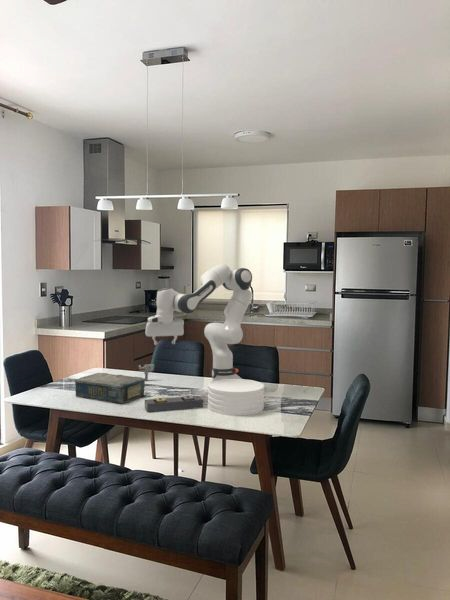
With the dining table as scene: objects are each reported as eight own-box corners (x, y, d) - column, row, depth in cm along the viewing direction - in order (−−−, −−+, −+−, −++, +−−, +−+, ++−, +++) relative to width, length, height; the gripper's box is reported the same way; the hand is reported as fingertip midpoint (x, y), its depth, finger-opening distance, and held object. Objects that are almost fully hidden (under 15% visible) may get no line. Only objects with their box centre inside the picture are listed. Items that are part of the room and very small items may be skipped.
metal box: (121, 405, 247) (121, 385, 246) (73, 397, 261) (73, 378, 261) (146, 395, 266) (146, 377, 265) (100, 388, 280) (100, 371, 280)
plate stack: (231, 397, 265) (231, 376, 264) (274, 406, 247) (274, 384, 246) (196, 408, 243) (196, 385, 242) (240, 419, 225) (241, 395, 225)
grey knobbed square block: (190, 405, 248) (190, 395, 247) (192, 407, 244) (193, 397, 243) (182, 405, 246) (182, 395, 246) (184, 408, 242) (184, 397, 242)
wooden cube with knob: (163, 407, 243) (163, 397, 243) (165, 409, 239) (165, 399, 239) (154, 408, 242) (154, 397, 241) (156, 410, 238) (156, 400, 237)
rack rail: (198, 403, 251) (198, 395, 251) (203, 407, 243) (203, 399, 243) (144, 407, 242) (144, 399, 242) (147, 412, 234) (147, 403, 234)
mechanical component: (137, 380, 300) (137, 364, 299) (154, 379, 303) (154, 363, 303) (138, 381, 297) (138, 365, 297) (155, 380, 300) (155, 364, 300)
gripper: (182, 317, 263) (182, 342, 264) (144, 318, 256) (144, 344, 257) (185, 318, 257) (185, 344, 258) (146, 319, 250) (146, 346, 251)
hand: (164, 344), depth 258 cm, fingers open, 8 cm apart
